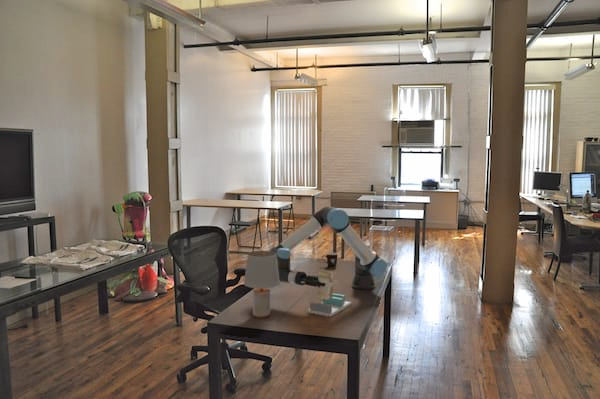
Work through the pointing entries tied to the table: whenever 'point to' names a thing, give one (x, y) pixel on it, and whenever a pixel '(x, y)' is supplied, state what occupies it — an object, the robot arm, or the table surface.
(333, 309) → the bed
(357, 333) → the table surface
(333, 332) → the table surface
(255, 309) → the lamp
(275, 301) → the table surface
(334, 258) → the coffee mug
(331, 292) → the birch block
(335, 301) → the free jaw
